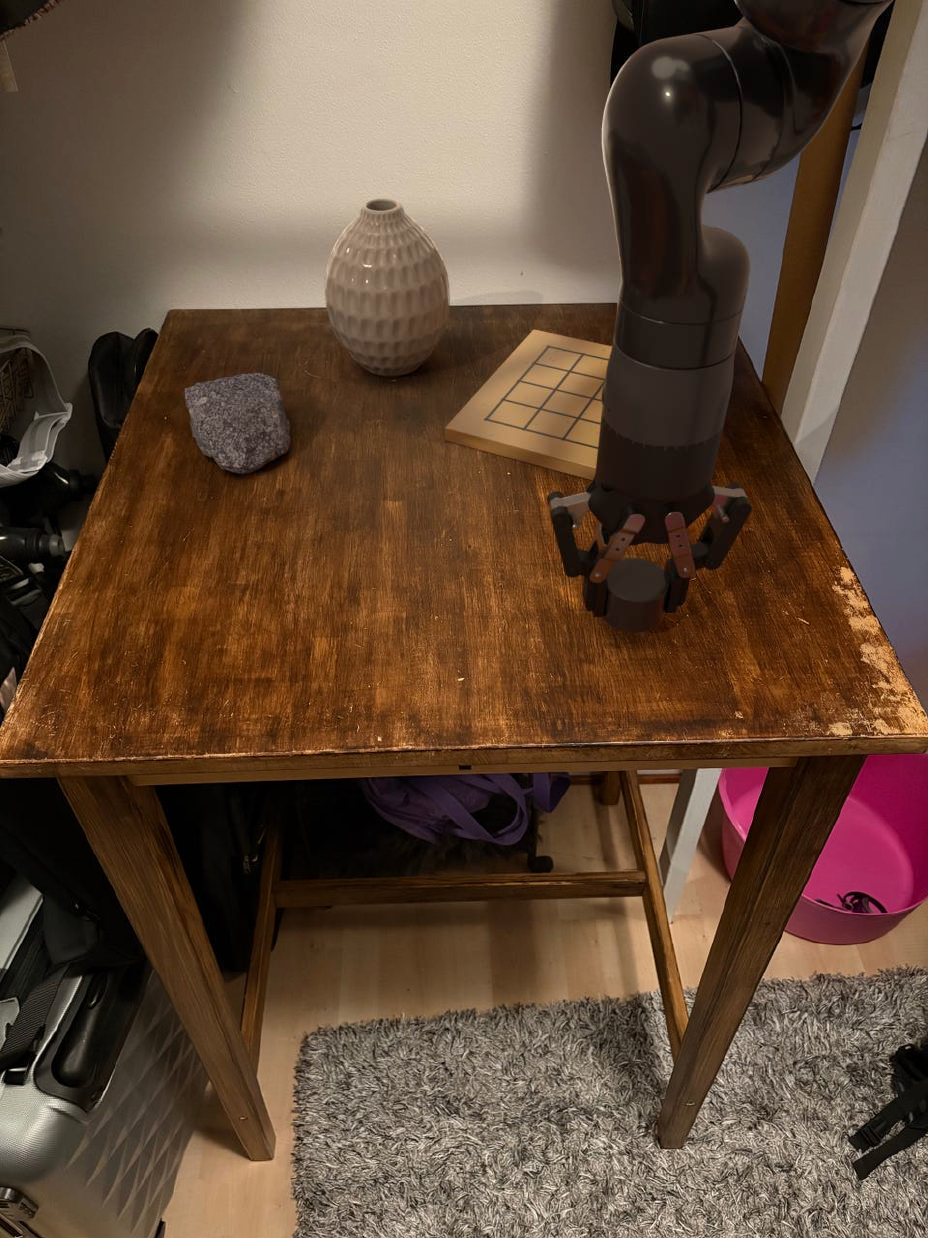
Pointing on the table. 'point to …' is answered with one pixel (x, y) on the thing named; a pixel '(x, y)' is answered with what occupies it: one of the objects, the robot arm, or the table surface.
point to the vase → (387, 290)
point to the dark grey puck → (635, 595)
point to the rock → (239, 421)
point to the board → (540, 405)
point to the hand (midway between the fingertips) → (632, 606)
